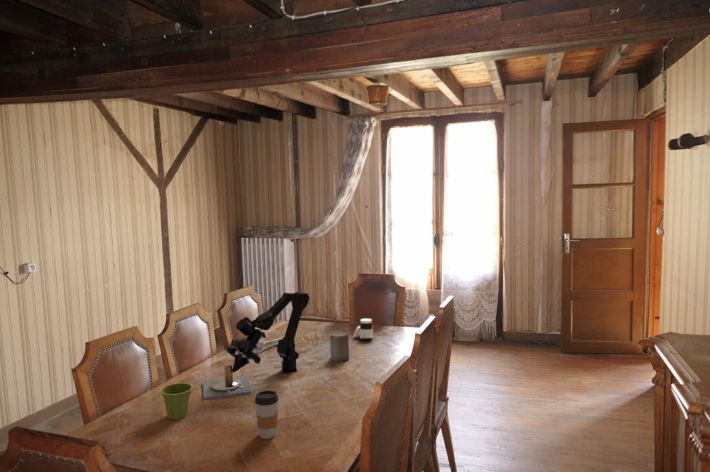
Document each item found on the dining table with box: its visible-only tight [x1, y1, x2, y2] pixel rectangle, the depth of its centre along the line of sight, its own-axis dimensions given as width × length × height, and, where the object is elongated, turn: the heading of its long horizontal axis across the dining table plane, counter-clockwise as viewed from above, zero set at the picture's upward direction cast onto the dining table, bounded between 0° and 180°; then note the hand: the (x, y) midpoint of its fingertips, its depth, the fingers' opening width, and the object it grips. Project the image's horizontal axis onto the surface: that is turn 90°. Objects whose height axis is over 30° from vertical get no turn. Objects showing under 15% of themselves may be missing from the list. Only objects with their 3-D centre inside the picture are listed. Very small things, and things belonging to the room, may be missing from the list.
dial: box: [211, 364, 241, 391], centre depth 218 cm, size 13×13×10 cm
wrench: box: [253, 337, 284, 355], centre depth 274 cm, size 8×2×30 cm
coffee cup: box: [254, 390, 279, 440], centre depth 174 cm, size 8×8×15 cm
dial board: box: [202, 375, 253, 401], centre depth 219 cm, size 20×20×2 cm
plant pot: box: [160, 382, 194, 420], centre depth 191 cm, size 12×12×11 cm
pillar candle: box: [329, 330, 350, 363], centre depth 255 cm, size 10×10×15 cm
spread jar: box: [353, 318, 374, 342], centre depth 291 cm, size 12×11×12 cm
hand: (233, 372), depth 214 cm, fingers closed, pressing on dial
